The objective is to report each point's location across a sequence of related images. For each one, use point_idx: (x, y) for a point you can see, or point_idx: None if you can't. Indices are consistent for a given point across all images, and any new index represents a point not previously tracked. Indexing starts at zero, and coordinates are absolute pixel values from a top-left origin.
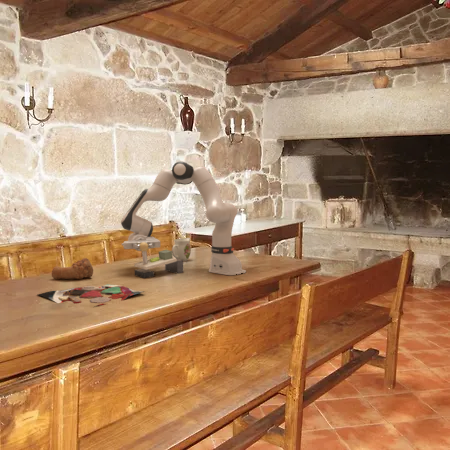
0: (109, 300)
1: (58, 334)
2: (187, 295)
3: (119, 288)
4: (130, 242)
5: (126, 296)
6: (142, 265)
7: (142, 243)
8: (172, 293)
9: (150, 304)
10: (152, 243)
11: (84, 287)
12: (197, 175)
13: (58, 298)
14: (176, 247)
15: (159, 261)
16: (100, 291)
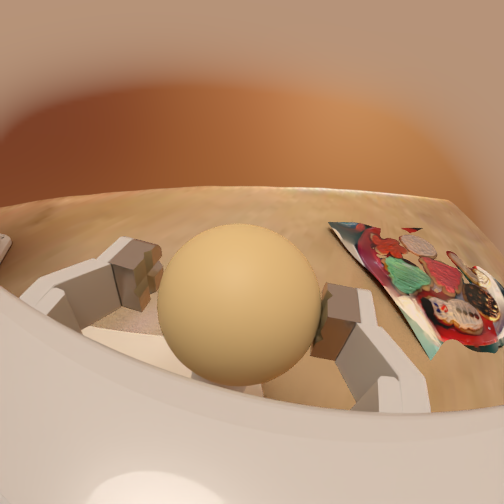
0: (401, 236)
1: (427, 199)
2: (240, 195)
3: (390, 272)
4: (494, 419)
5: (371, 230)
6: (254, 394)
7: (283, 237)
8: (261, 211)
9: (329, 198)
10: (49, 277)
11: (477, 316)
12: None
13: (487, 276)
14: None
15: None
16: (434, 292)
